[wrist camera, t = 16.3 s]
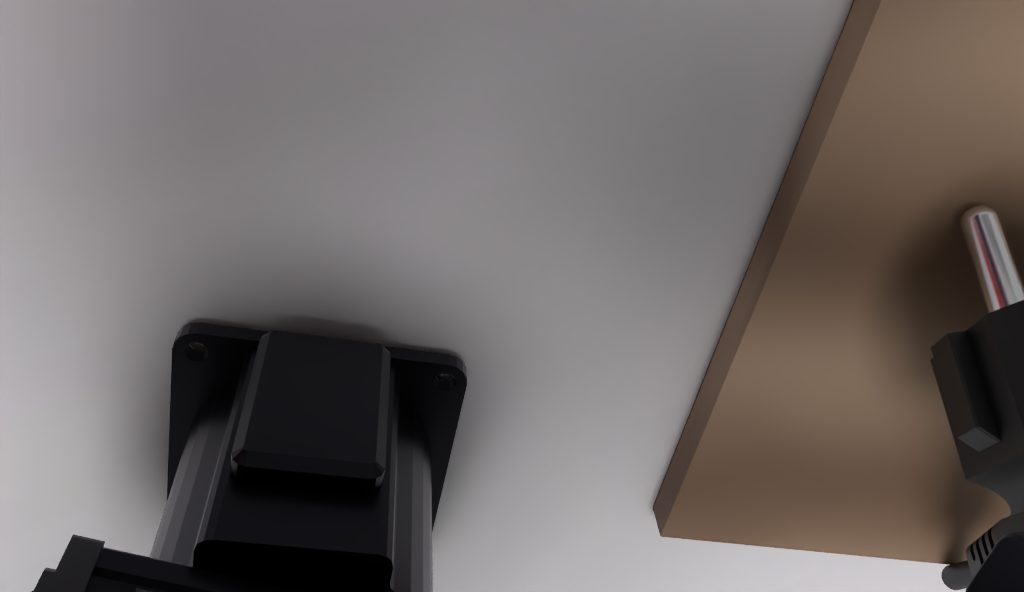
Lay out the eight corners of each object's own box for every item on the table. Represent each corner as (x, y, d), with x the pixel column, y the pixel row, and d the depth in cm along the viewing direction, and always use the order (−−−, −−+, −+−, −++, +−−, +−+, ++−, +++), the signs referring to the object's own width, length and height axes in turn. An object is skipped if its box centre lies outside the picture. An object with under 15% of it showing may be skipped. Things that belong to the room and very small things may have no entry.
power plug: (859, 622, 25) (1101, 581, 14) (794, 355, 28) (955, 147, 17) (1066, 595, 26) (1469, 534, 14) (982, 331, 28) (1264, 109, 17)
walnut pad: (1048, 548, 27) (1068, 575, 27) (652, 508, 25) (660, 536, 24) (1444, -5, 19) (1490, 9, 18) (908, -134, 17) (932, -125, 16)
